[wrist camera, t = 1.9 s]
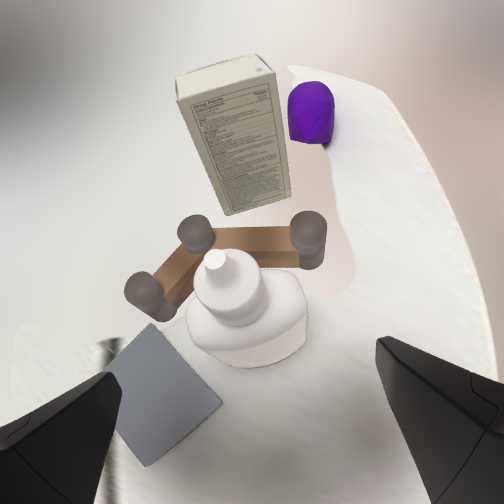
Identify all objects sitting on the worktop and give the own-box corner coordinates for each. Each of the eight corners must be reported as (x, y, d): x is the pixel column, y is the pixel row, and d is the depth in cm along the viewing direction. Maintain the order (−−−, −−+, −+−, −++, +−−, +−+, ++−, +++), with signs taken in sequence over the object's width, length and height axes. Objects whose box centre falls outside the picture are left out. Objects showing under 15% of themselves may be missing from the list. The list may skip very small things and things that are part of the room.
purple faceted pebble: (333, 68, 30) (335, 118, 22) (333, 100, 34) (333, 162, 25) (296, 67, 31) (280, 115, 23) (299, 98, 35) (284, 159, 27)
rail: (208, 381, 18) (186, 375, 15) (142, 303, 22) (115, 283, 18) (330, 253, 21) (334, 223, 18) (252, 200, 25) (244, 168, 22)
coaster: (148, 465, 15) (144, 466, 14) (92, 386, 19) (87, 385, 18) (223, 402, 17) (220, 402, 17) (154, 324, 21) (150, 322, 20)
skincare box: (278, 167, 27) (259, 50, 16) (293, 199, 24) (279, 70, 14) (215, 185, 27) (173, 74, 16) (223, 220, 25) (174, 99, 14)
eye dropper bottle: (298, 379, 17) (295, 348, 7) (217, 363, 19) (117, 307, 8) (310, 318, 19) (317, 209, 9) (232, 305, 21) (162, 198, 10)
